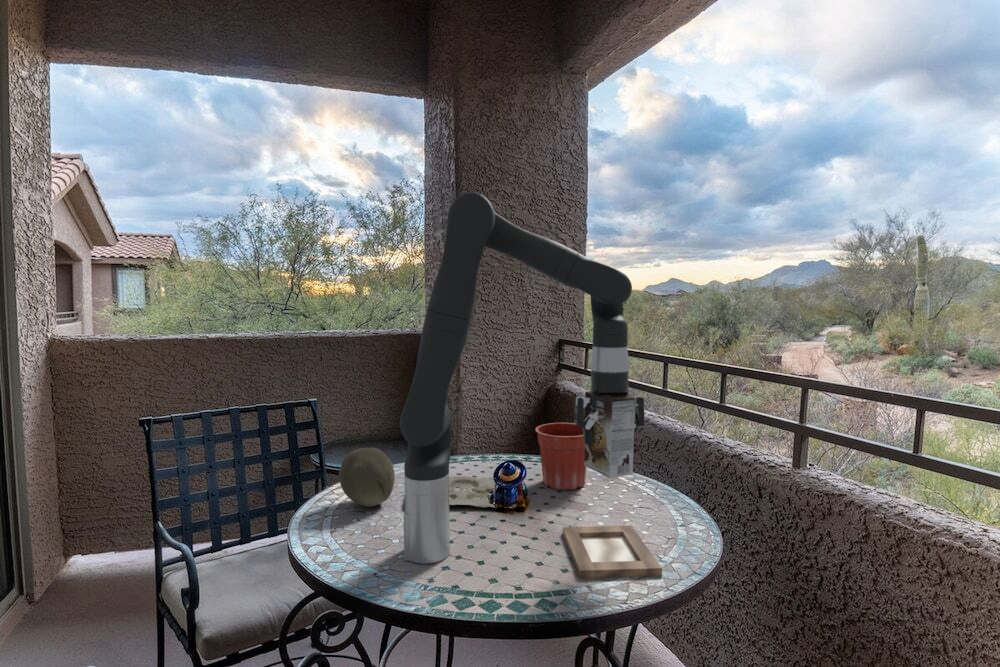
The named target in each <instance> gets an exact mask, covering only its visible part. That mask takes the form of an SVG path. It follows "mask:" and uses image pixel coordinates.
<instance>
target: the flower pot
mask: <svg viewBox="0 0 1000 667" xmlns="http://www.w3.org/2000/svg"><path fill="white" fill-rule="evenodd" d="M535 432H536V433H537V442H538V444H539V450H540V451H539V452H540V461H541V473H542V482H543V484H544V486H546V487H550V488H551V489H553V490H558V491H574V490H577V489H578V488H583V487H584V486H585V484H586V474H587V466H585V465H584V455H585V443H584V441H583V427H579V426H577V425H576V423H575V422H573V423H572V422H571V423H570V422H552V423H551V422H550V423H545V424H540V425H538V426H536V427H535Z"/></svg>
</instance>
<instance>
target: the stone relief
mask: <svg viewBox="0 0 1000 667" xmlns="http://www.w3.org/2000/svg"><path fill="white" fill-rule="evenodd" d="M493 479H494V478H489V477H488V478H487V477H480V478H479V477H470V476H449V497H450V498H449V506H455V505H459V506H460V505H461V506H462V505H463V506H465V505H466V506H474V507H476V508H488V507H490V508H496V507H495V506H494V505H493V504H490V503H489V500H488V497H489V496H487V495H489V494H491V493H490V492H492V491H493V490H494V488H495V483H494V480H493ZM456 487H460V488H458V490H456V489H455V488H456ZM454 489H455V490H454ZM471 489H472V490H471ZM488 493H489V494H488Z"/></svg>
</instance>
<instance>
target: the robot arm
mask: <svg viewBox="0 0 1000 667" xmlns="http://www.w3.org/2000/svg"><path fill="white" fill-rule="evenodd" d="M446 222H447V223H446V231H445V232H446V233H445V240H444V247H443V254H442V257H441V262H440V266H439V268H438V272H437V274H436V277H435V280H434V283H433V287H432V289H431V290H432V291H431V293H430V297H429V301H428V305H427V308H426V312H425V316H424V320H423V321H424V322H423V326H422V331H421V337H420V342H419V346H418V351H417V352H418V353H417V359H416V366H415V369H414V370H415V371H414V376H413V378H412V379H413V380H412V383H411V386H410V388H409V391H408V395H407V398H406V401H405V403H404V405H403V408H402V411H401V414H400V415H401V416H400V420H399V428H400V431H401V434H402V437H403V438H404V440H405V441H406V442H407V444H408V445H407V453H406V457H405V460H404V464H403V465H404V469H403V470H404V471H403V472H404V513H403V516H402V517H403V519H402V520H403V561H408V562H409V561H410V562H411V563H417V564H422V565H423V564H424V565H425V564H426V565H429V564H434V563H439V562H440V561H441V562H442V561H443V560H445V559H446V558H448V556H449V555H450V552H451V551H450V549H451V548H450V547H451V546H450V545H451V540H450V539H451V537H450V535H451V534H450V533H451V532H450V531H451V529H450V524H451V523H450V505H449V500H450V498H449V477H450V461H451V454H452V415H451V414H452V413H451V411H450V408H449V406H448V403H447V400H448V399H447V398H448V392H449V388H450V384H451V380H452V379H453V375H454V373H455V370H456V369H457V366H458V364H459V362H460V360H461V356H462V354H463V351H464V348H465V345H466V343H467V340H468V336H469V332H470V330H471V329H470V328H471V323H472V322H473V321H472V319H473V316H474V309H475V303H476V295H477V284H478V282H477V281H478V273H479V267H480V263H481V259H482V257H483V253H484V250H485V248H489V249H492V250H495V251H497V252H499V253H502V254H504V255H505V256H509V257H510V258H513V259H515V260H517V261H518V262H521V263H522V264H524V265H526V266H528V267H530V268H531V269H533V270H535V271H537V272H539V273H540V274H542V275H544V276H547V277H548V278H551V279H552V280H554V281H555V282H558V283H561V284H563V285H564V286H566V287H570V288H574V289H578V290H580V291H582V292H583V293H586V294H588V295H590V307H591V314H592V315H591V316H592V324H593V325H592V348H591V349H592V351H591V358H590V359H591V361H590V369H591V370H590V373H591V374H590V375H591V376H590V377H591V378H590V391H591V395H590V397H584V396H580V395H577V396H576V397H575V400H574V401H575V402H574V403H575V404H574V420H573V421H574V422H573V423H574V424H576V425H577V426H579V427H583V441H584V443H585V444H586V445H587V447H592V430H591V427H592V426H593V424H594V423H595V422H596V421H597V420H598V416H597V415H598V410H597V411H596V412H595V413H594V414H589V415H588V417H587V418H586V419H585V418H584V409H585V407H586V405H587V403H590V404H591V405H592V407H593V408H594V409H596V401H597V395H618V396H630V395H629V352H628V342H629V341H628V340H629V339H628V338H629V334H628V332H629V331H628V330H629V329H628V323H627V321H626V319H625V318H624V303H625V302H627V301H628V300H629V298H630V297H631V295H632V292H633V286H632V282H631V280H630V278H629V277H628V275H627V274H626V273H624V272H622V271H621V270H619V269H617V268H615V267H613V266H610V265H608V264H605V263H602V262H599V261H597V260H594V259H591V258H588V257H586V256H585V255H583V254H582V253H580V252H578V251H576V250H575V249H574V250H573V249H572V248H570V247H568V246H567V245H566V246H565V245H564V244H561V243H559V242H557V241H555V240H552V239H550V238H547V237H545V236H541V235H540V234H539V235H538V234H536V233H534V232H531V231H529V230H525V229H524V228H521V227H520V226H517V225H515V224H514V223H512V222H510V221H509V220H507V219H505V218H504V217H503V216H501V215H500V214H499V213H497V212H496V211H495V210H494V207H493V205H492V203H491V202H490V201H489V199H488V198H487V197H486V196H484V195H482V194H481V193H478V192H477V191H476V192H474V191H469V192H464V193H462V194H460V195H459V196H458V197H455V199H454V200H453V201H452V202H451V204H450V206H449V208H448V212H447V221H446ZM634 397H635V422H634V443H635V441H636V437H635V436H636V428H638V427H643V426H644V425H645V399H644V397H642V396H641V395H639V394H636V395H635V396H634ZM583 419H584V420H583Z"/></svg>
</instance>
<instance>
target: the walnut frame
mask: <svg viewBox="0 0 1000 667" xmlns="http://www.w3.org/2000/svg"><path fill="white" fill-rule="evenodd" d="M562 535H563V538H564V541H565V543H566V546H567V549H568V551H569V554H570V556H571V559H572V561H573V565H574V566H575V569H576V572H577V574H578V577H579V579H593V578H595V579H599V578H622V577H623V578H627V577H629V578H630V577H656V576H657V577H662V576H663V568H662V566H661V565H660V563H659V562H658V561H657V559H656V558H655V555H653V553H652V551H651V550H650V549H649V548H648V546H647V545H646V544H645V542H644V540H643V539H642V538H641V536H640V535H639V534H638V532H637V531H636V530H635V528H634V527H633V525H631V524H630V525H602V526H599V525H598V526H565V527H564V526H563V527H562Z"/></svg>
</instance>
